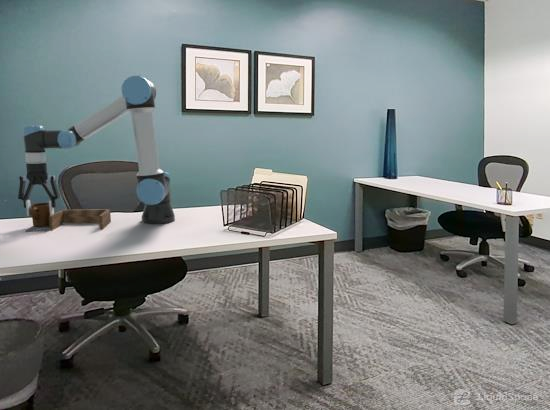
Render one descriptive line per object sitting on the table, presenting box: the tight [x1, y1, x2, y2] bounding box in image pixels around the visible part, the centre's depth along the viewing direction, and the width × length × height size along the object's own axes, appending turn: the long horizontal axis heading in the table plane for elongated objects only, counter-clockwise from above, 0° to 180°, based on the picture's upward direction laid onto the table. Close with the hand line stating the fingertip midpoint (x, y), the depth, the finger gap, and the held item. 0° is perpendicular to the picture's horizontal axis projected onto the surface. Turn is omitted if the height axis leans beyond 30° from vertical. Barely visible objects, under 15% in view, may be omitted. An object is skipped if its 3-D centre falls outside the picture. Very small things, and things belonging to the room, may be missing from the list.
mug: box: [30, 202, 50, 227], centre depth 187 cm, size 12×8×9 cm, turn 2°
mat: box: [25, 225, 51, 233], centre depth 188 cm, size 9×13×1 cm, turn 8°
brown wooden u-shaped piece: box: [49, 208, 112, 231], centre depth 192 cm, size 21×15×6 cm
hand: (40, 215), depth 187 cm, fingers open, 9 cm apart
